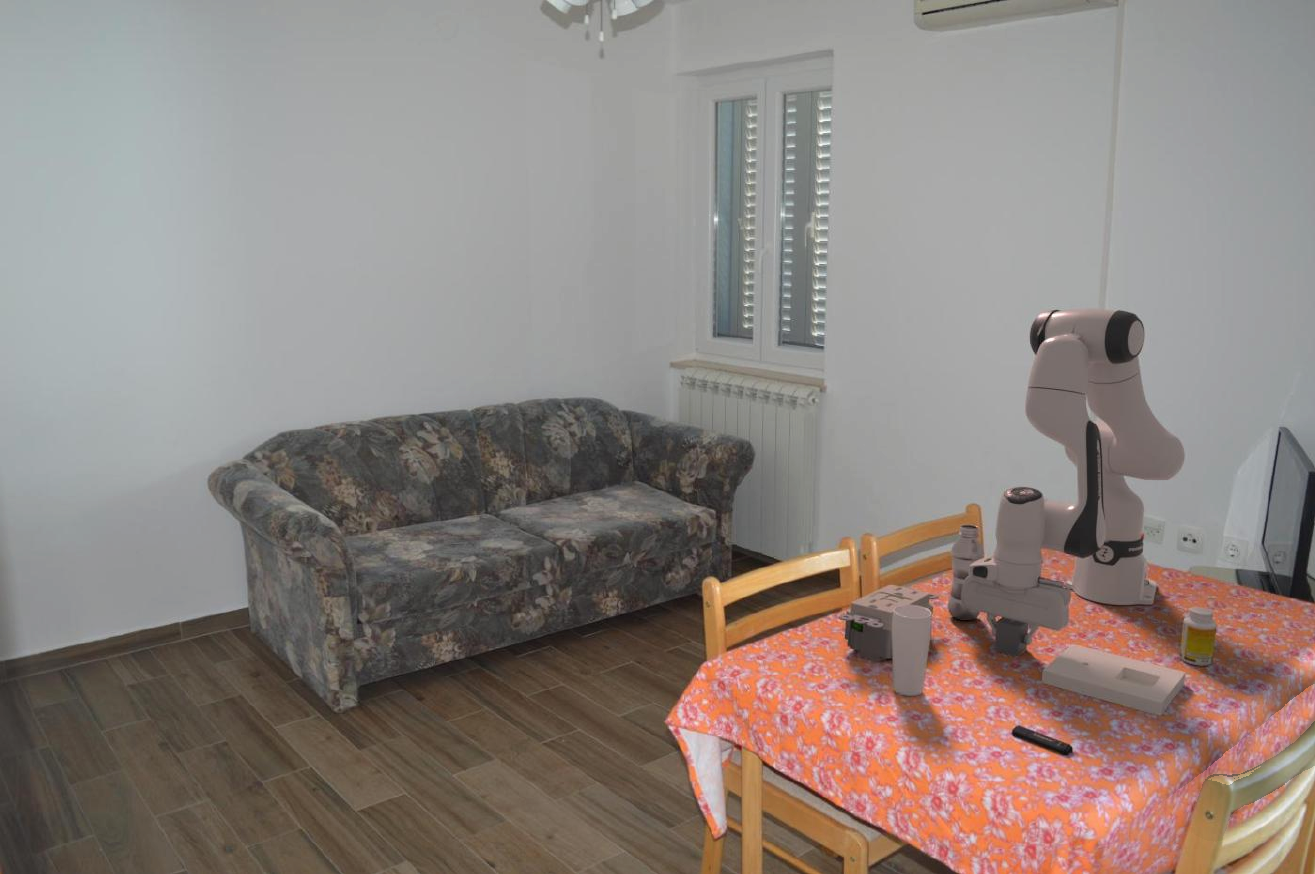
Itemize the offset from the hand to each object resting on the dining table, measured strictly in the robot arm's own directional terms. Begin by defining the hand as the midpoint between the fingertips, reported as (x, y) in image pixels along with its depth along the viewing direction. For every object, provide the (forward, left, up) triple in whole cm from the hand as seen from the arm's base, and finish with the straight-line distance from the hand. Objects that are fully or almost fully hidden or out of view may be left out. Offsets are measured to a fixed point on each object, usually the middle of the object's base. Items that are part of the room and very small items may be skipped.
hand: (1011, 639), depth 199 cm
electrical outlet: (+13, -20, -2) cm, 24 cm away
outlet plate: (+3, +20, -2) cm, 20 cm away
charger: (0, 0, -2) cm, 2 cm away
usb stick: (+33, +18, -3) cm, 38 cm away
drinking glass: (+30, -7, -2) cm, 31 cm away
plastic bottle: (-10, -14, -2) cm, 17 cm away
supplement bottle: (-18, +29, -2) cm, 34 cm away
